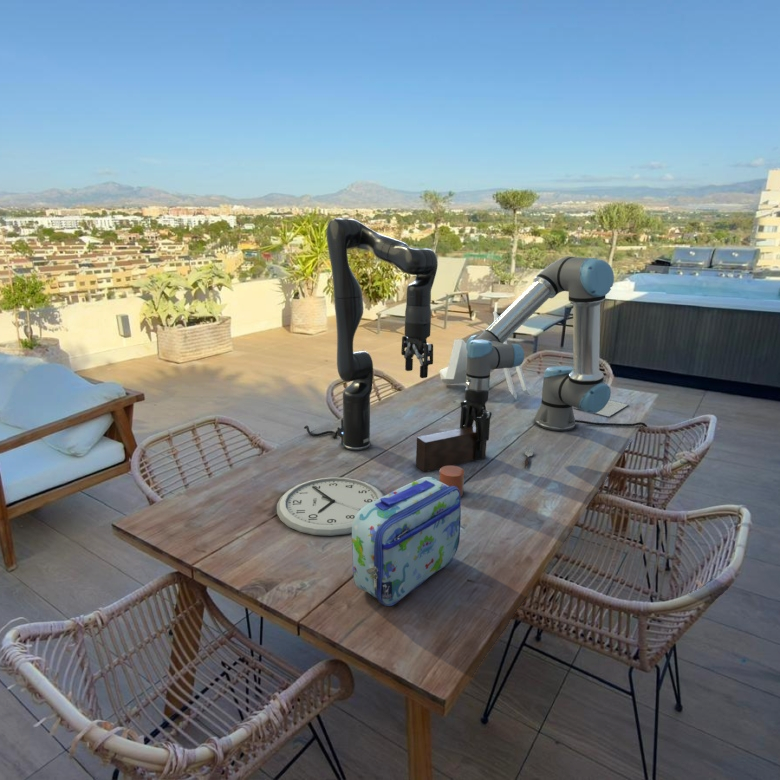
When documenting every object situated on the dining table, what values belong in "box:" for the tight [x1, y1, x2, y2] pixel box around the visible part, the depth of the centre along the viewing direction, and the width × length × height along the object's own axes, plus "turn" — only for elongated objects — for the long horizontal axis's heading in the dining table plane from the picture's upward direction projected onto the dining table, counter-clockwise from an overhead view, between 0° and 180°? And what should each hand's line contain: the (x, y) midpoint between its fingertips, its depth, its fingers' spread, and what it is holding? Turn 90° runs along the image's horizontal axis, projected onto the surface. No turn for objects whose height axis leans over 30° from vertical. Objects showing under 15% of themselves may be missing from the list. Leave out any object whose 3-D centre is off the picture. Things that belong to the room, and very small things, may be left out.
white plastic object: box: [438, 310, 531, 400], centre depth 245 cm, size 37×45×31 cm
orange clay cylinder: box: [438, 465, 465, 498], centre depth 150 cm, size 7×7×7 cm
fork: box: [524, 445, 535, 469], centre depth 172 cm, size 3×16×2 cm, turn 160°
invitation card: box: [573, 399, 629, 418], centre depth 226 cm, size 21×1×15 cm
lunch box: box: [351, 476, 462, 607], centre depth 111 cm, size 26×11×21 cm, turn 135°
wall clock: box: [276, 476, 385, 537], centre depth 142 cm, size 30×2×30 cm
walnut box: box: [415, 425, 487, 473], centre depth 169 cm, size 24×5×10 cm, turn 118°
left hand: (416, 374), depth 156 cm, fingers open, 8 cm apart
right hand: (472, 454), depth 174 cm, fingers closed on walnut box, 5 cm apart
